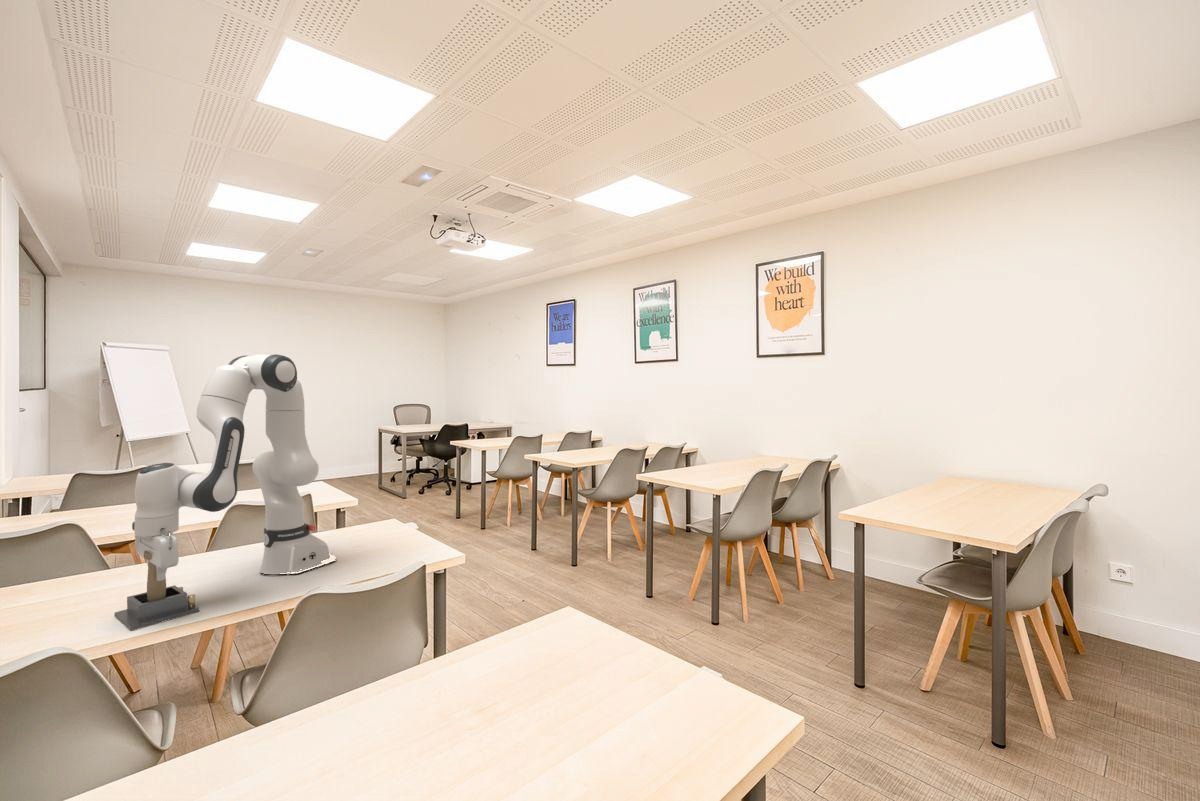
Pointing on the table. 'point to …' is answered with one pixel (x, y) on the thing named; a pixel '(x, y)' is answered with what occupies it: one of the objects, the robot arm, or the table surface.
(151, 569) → the handle
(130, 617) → the clip socket
